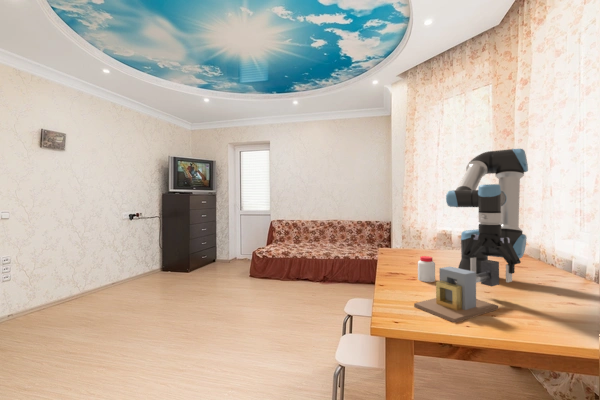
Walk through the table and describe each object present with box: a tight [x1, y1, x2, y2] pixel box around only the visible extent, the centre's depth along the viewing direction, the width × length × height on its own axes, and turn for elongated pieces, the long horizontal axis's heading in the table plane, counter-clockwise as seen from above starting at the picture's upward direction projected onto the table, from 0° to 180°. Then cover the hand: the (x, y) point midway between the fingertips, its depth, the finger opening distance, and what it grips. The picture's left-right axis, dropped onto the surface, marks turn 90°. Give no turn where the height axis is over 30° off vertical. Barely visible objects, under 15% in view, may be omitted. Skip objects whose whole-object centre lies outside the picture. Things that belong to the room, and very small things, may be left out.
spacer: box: [435, 280, 462, 311], centre depth 104 cm, size 3×8×8 cm, turn 27°
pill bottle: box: [417, 255, 436, 283], centre depth 142 cm, size 8×8×11 cm
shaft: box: [452, 259, 500, 287], centre depth 111 cm, size 24×4×9 cm, turn 117°
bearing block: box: [413, 266, 499, 324], centre depth 106 cm, size 24×16×14 cm, turn 117°
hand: (490, 277), depth 116 cm, fingers open, 13 cm apart
